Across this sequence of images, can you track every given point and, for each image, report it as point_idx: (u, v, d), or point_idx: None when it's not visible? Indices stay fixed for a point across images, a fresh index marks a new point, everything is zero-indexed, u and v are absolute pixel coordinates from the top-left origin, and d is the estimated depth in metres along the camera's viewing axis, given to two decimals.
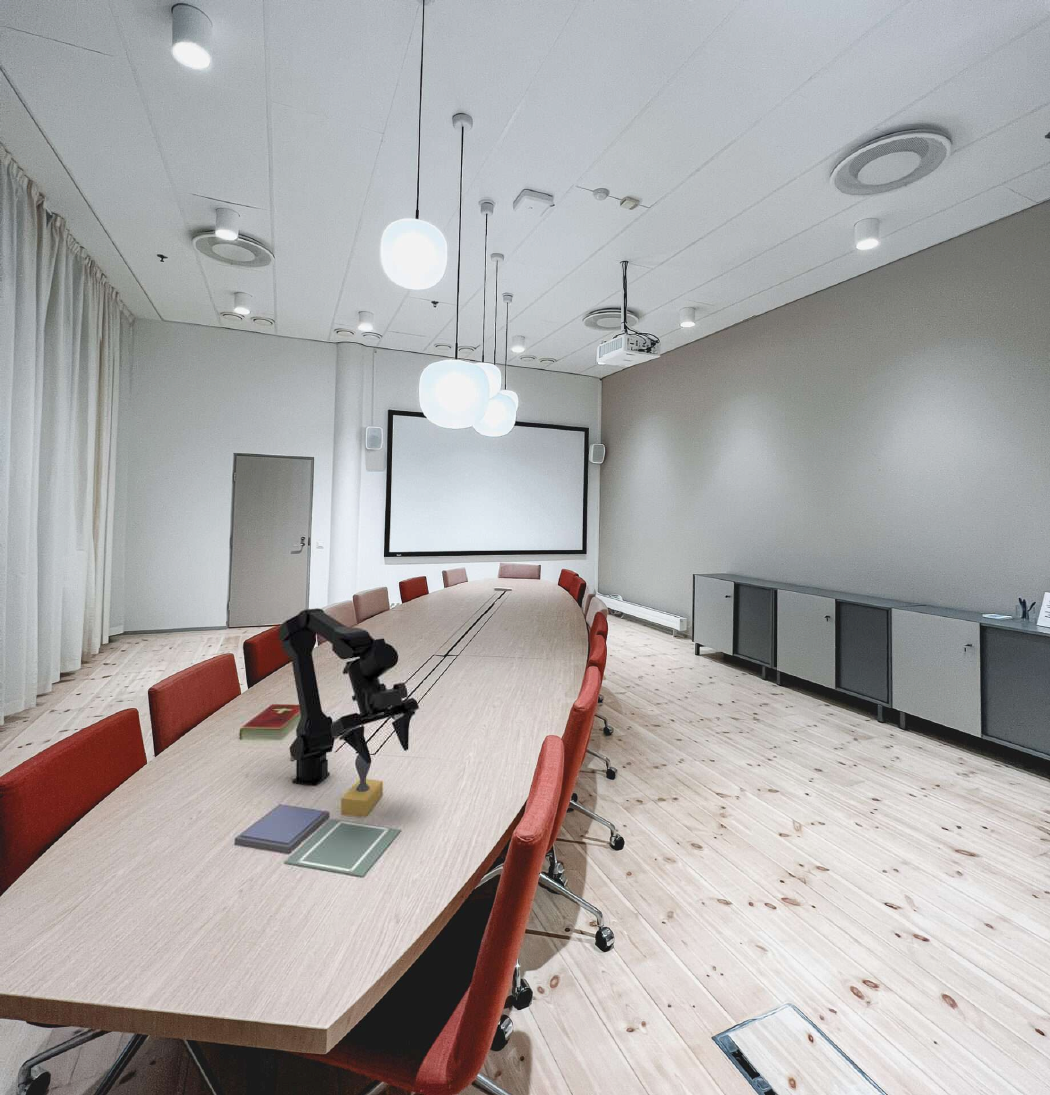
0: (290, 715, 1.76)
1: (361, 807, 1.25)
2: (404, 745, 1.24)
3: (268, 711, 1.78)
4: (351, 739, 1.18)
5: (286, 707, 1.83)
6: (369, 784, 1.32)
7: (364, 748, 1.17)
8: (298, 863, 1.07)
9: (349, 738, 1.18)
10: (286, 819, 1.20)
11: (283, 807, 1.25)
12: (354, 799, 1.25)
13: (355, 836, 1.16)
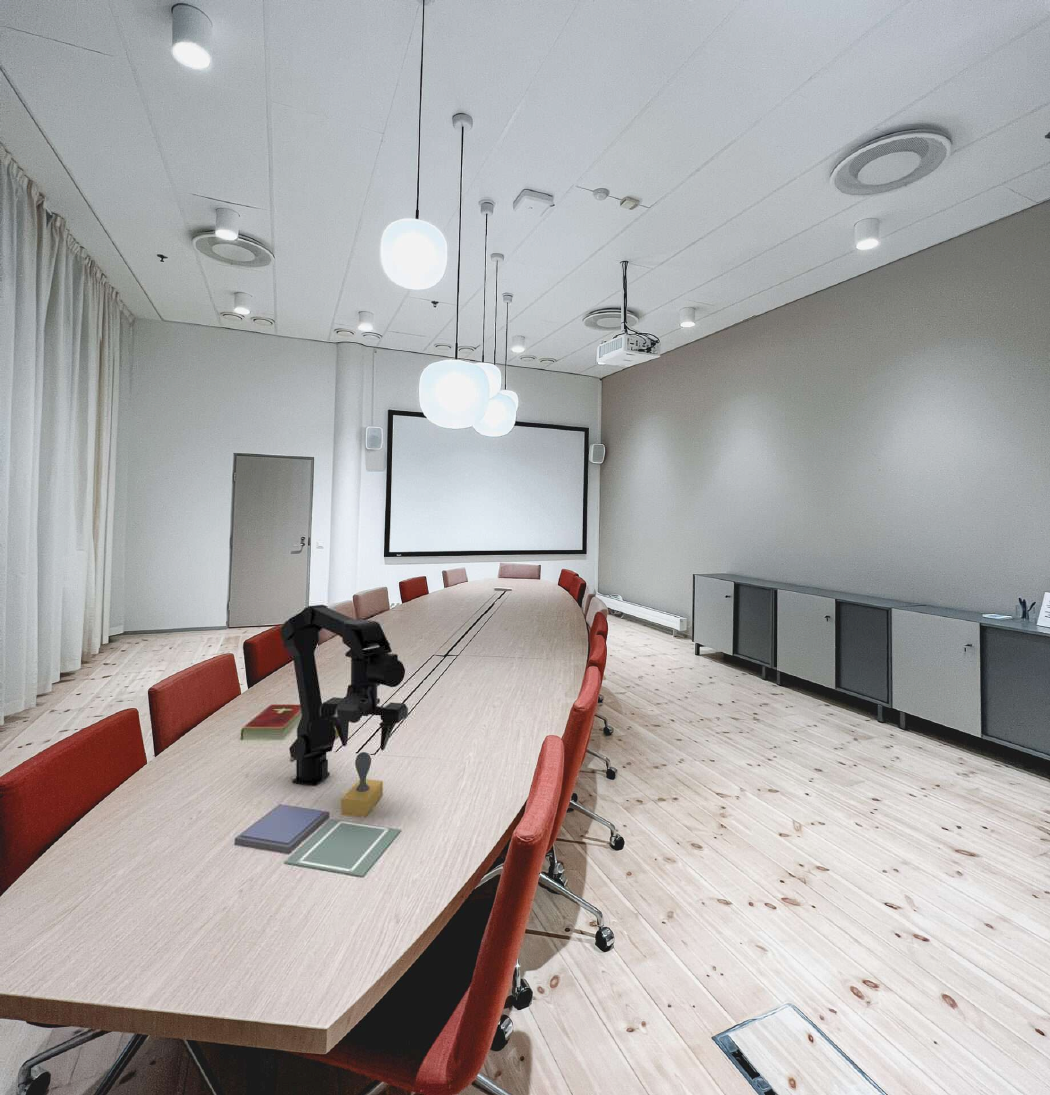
0: (291, 715, 1.76)
1: (361, 807, 1.25)
2: None
3: (268, 711, 1.78)
4: None
5: (285, 707, 1.83)
6: (369, 784, 1.32)
7: (339, 734, 1.29)
8: (298, 863, 1.07)
9: None
10: (286, 819, 1.20)
11: (283, 807, 1.25)
12: (354, 799, 1.25)
13: (355, 836, 1.16)
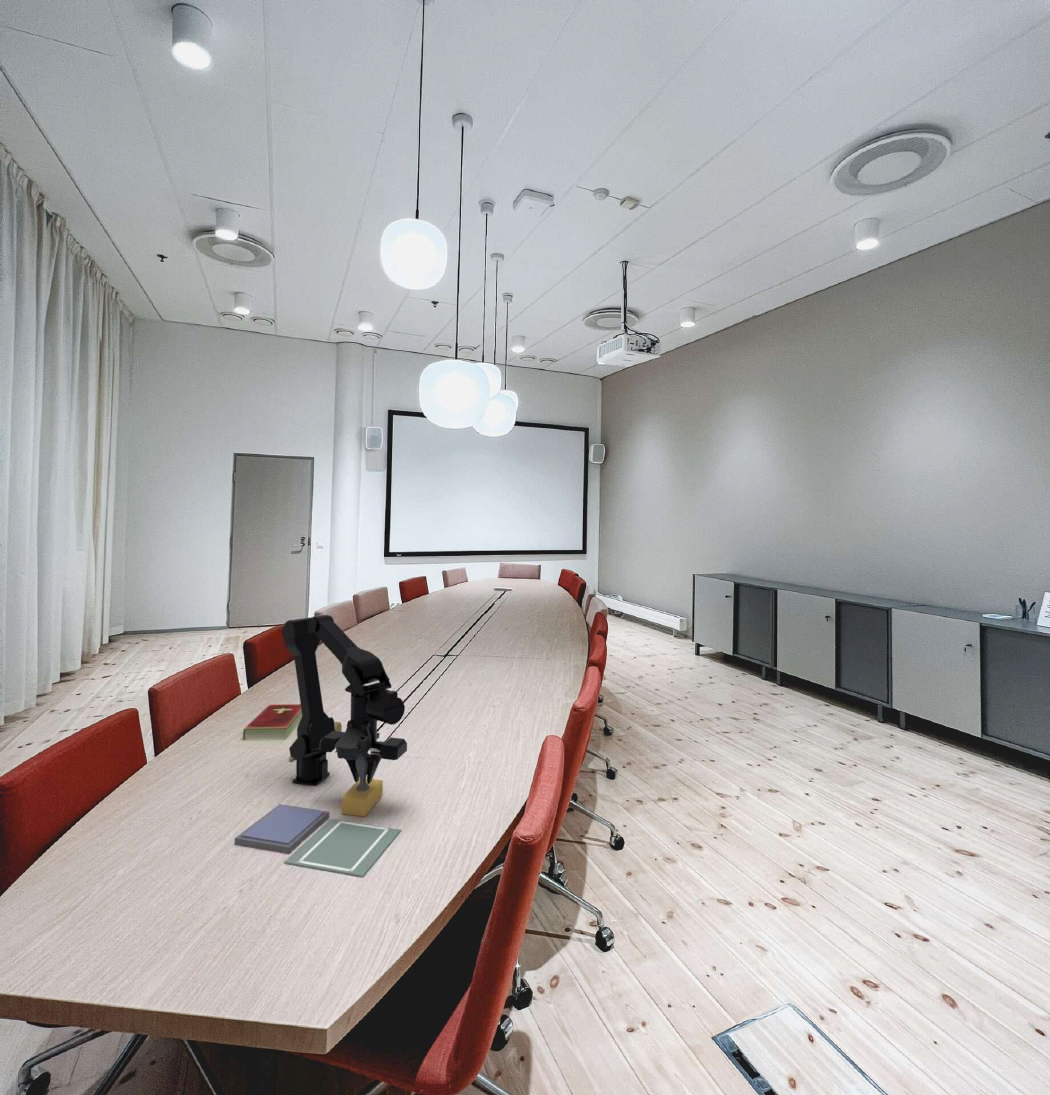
0: (291, 715, 1.76)
1: (361, 806, 1.25)
2: None
3: (268, 712, 1.78)
4: None
5: (285, 707, 1.83)
6: None
7: (351, 770, 1.29)
8: (298, 863, 1.07)
9: None
10: (286, 819, 1.20)
11: (283, 807, 1.25)
12: (354, 798, 1.25)
13: (355, 836, 1.16)
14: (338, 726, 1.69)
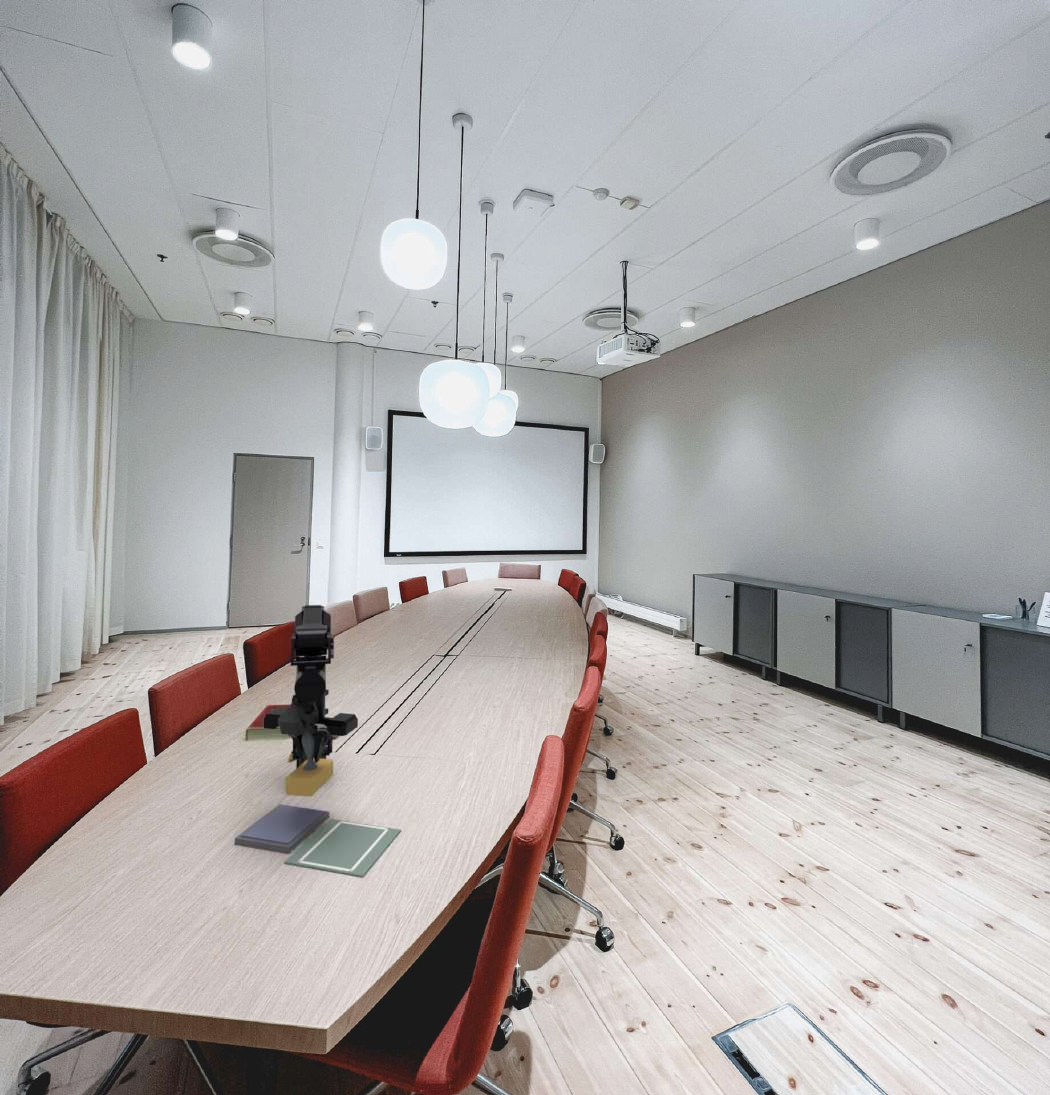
0: None
1: (308, 786, 1.16)
2: None
3: (267, 712, 1.78)
4: None
5: (284, 707, 1.83)
6: (318, 762, 1.24)
7: (297, 748, 1.20)
8: (298, 863, 1.07)
9: None
10: (286, 819, 1.20)
11: (283, 807, 1.25)
12: (299, 778, 1.16)
13: (355, 836, 1.16)
14: None
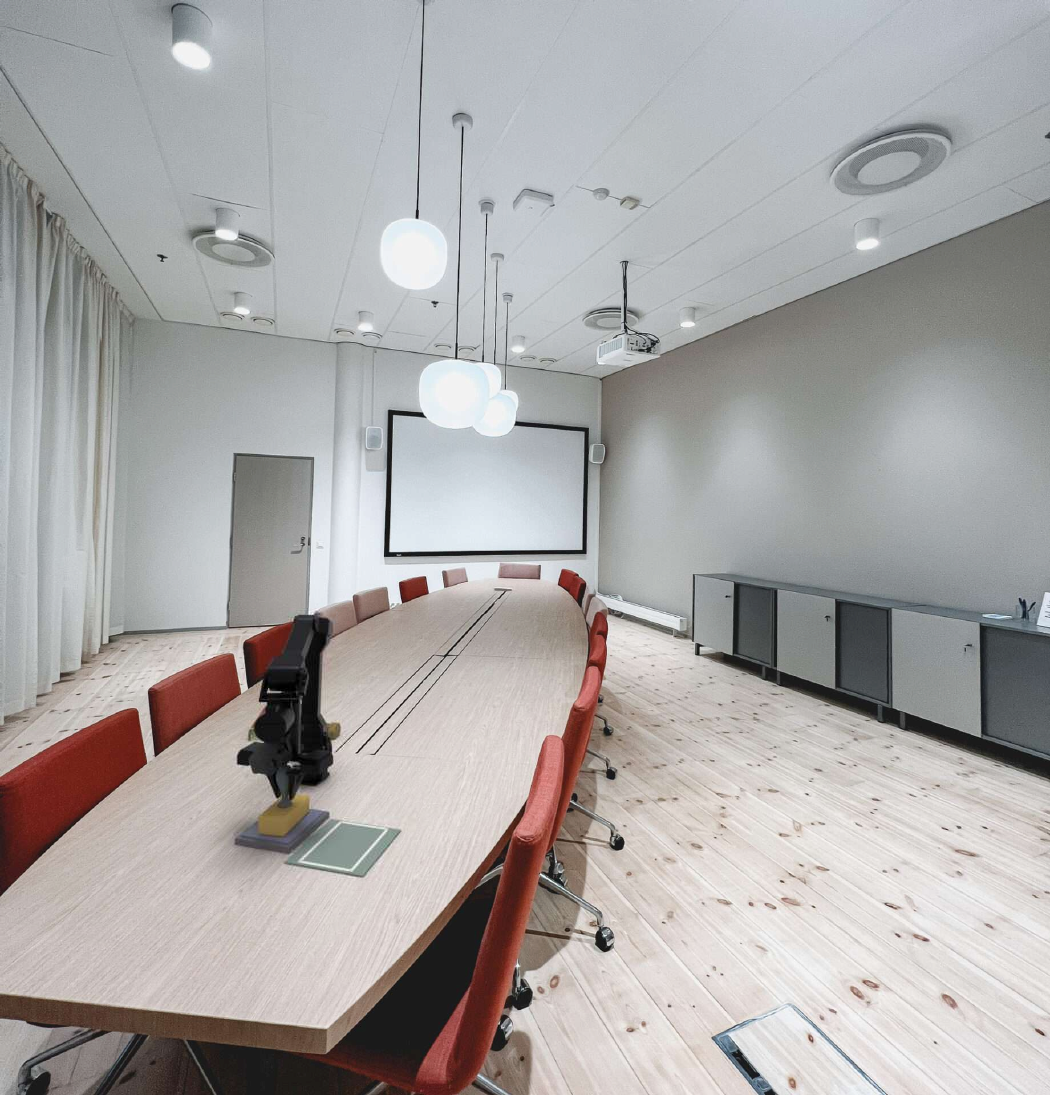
0: None
1: (280, 826, 1.13)
2: None
3: None
4: None
5: None
6: (293, 799, 1.21)
7: (271, 785, 1.18)
8: (298, 863, 1.07)
9: None
10: None
11: None
12: (272, 817, 1.14)
13: (355, 836, 1.16)
14: (337, 727, 1.68)
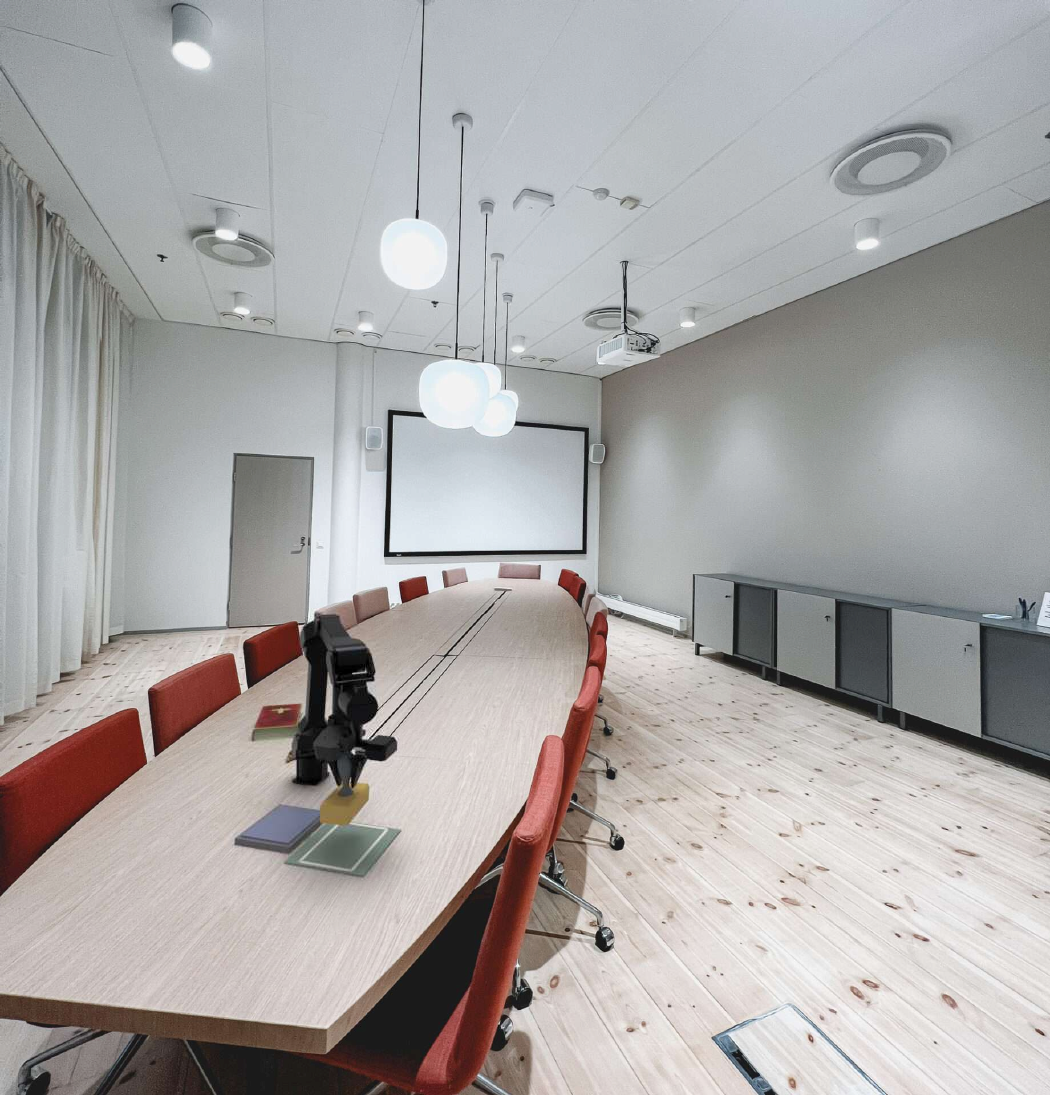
0: (294, 713, 1.77)
1: (343, 814, 1.08)
2: None
3: (267, 712, 1.77)
4: None
5: (281, 707, 1.83)
6: None
7: (333, 772, 1.12)
8: (298, 863, 1.07)
9: None
10: (286, 819, 1.20)
11: (283, 807, 1.25)
12: (334, 805, 1.08)
13: (355, 836, 1.16)
14: None
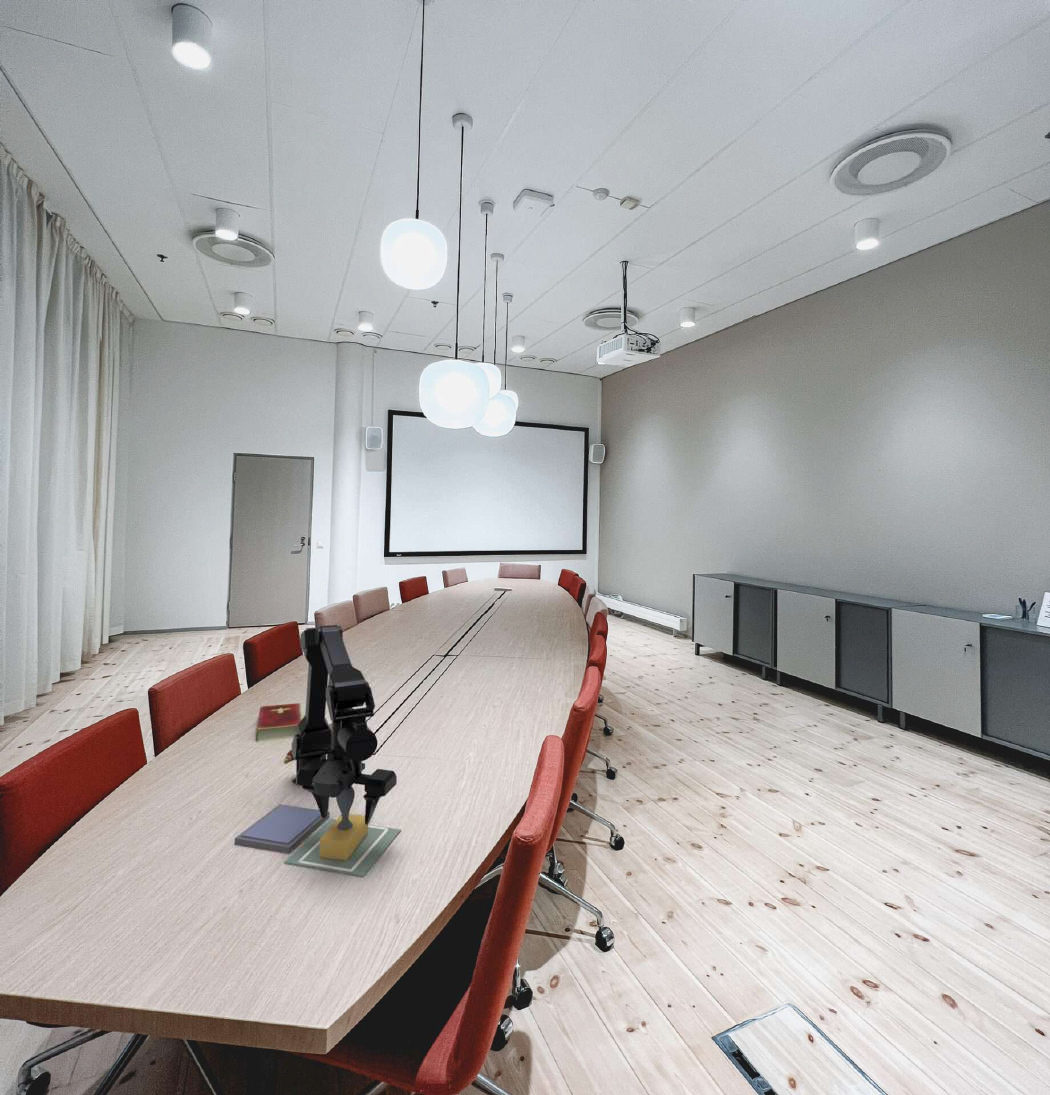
0: (294, 713, 1.78)
1: (343, 849, 1.08)
2: None
3: (267, 713, 1.77)
4: None
5: (280, 707, 1.83)
6: (353, 820, 1.16)
7: (318, 804, 1.13)
8: (298, 863, 1.07)
9: None
10: (286, 819, 1.20)
11: (283, 807, 1.25)
12: (334, 840, 1.08)
13: None
14: None
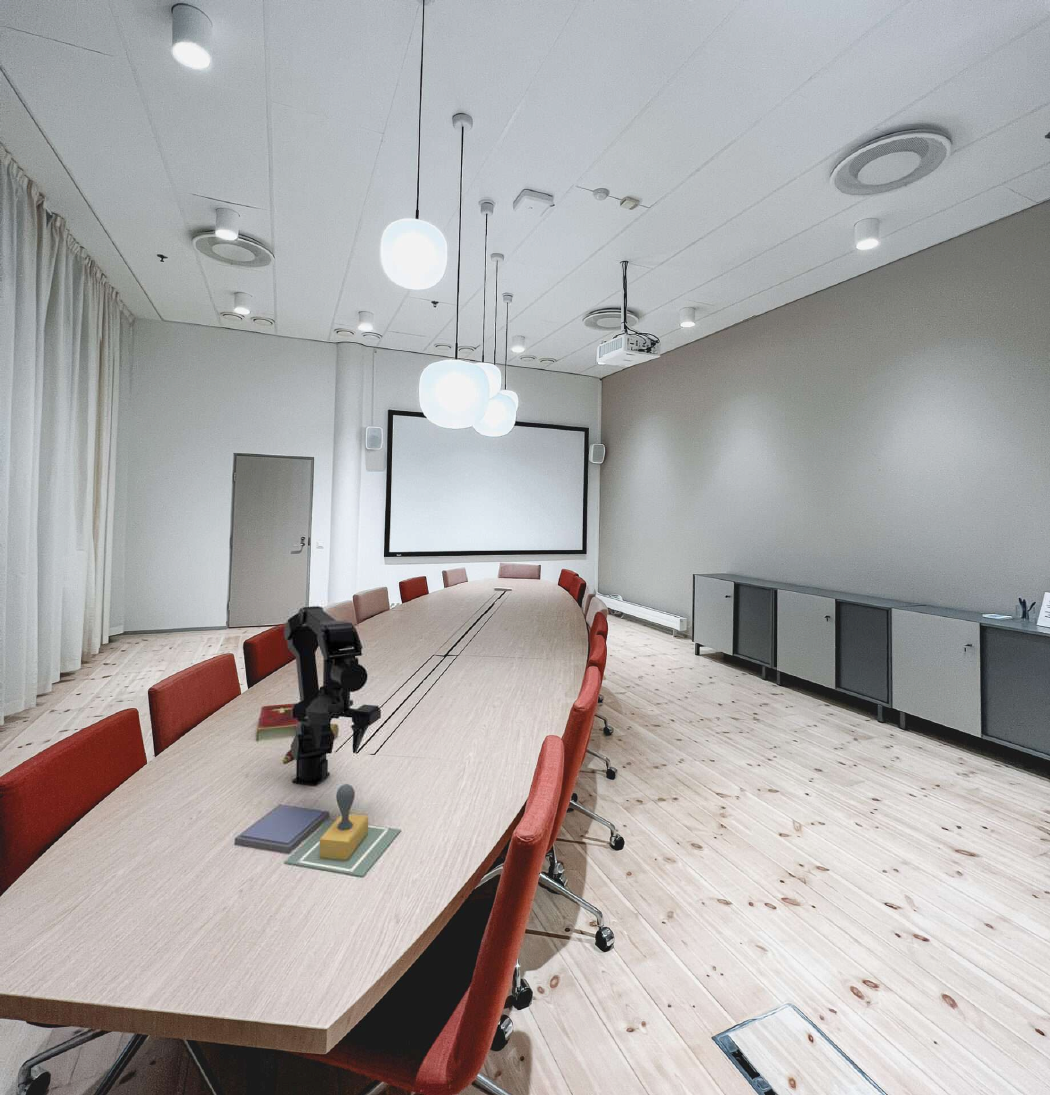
0: None
1: (343, 849, 1.08)
2: None
3: (268, 712, 1.77)
4: None
5: (281, 707, 1.83)
6: (353, 820, 1.16)
7: (311, 736, 1.28)
8: (298, 863, 1.07)
9: None
10: (286, 819, 1.20)
11: (283, 807, 1.25)
12: (334, 840, 1.08)
13: None
14: (335, 728, 1.67)
